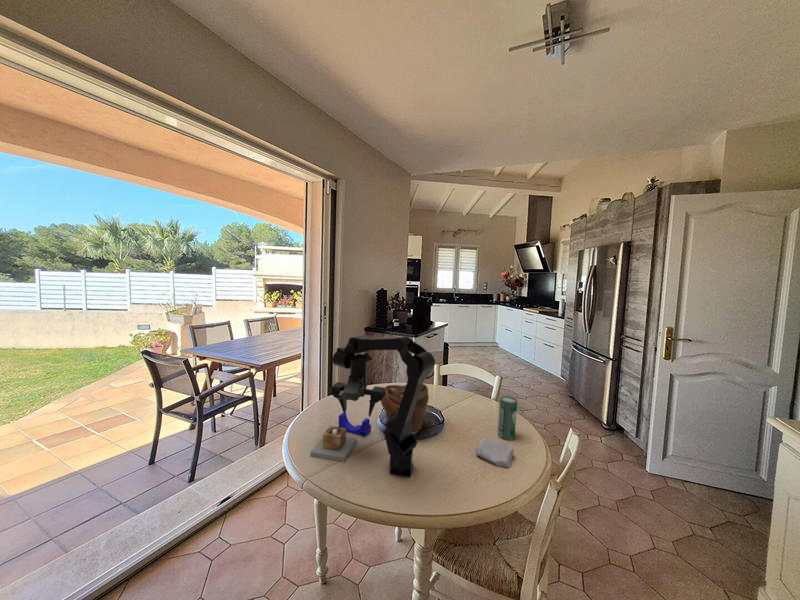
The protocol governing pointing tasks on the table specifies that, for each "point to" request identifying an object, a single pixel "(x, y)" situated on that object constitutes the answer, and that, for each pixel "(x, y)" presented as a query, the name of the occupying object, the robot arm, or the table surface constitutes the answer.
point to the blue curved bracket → (358, 430)
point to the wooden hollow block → (334, 439)
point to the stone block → (495, 452)
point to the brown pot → (394, 399)
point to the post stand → (333, 454)
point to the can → (507, 418)
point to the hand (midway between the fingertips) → (357, 414)
